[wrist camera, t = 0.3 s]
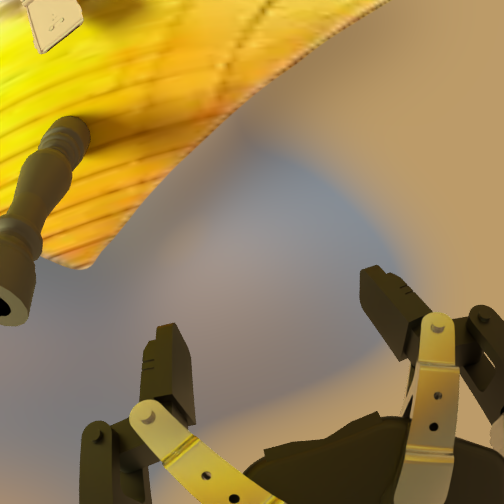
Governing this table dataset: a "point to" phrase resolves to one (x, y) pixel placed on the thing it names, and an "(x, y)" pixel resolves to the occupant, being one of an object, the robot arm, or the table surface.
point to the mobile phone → (52, 21)
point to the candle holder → (35, 213)
